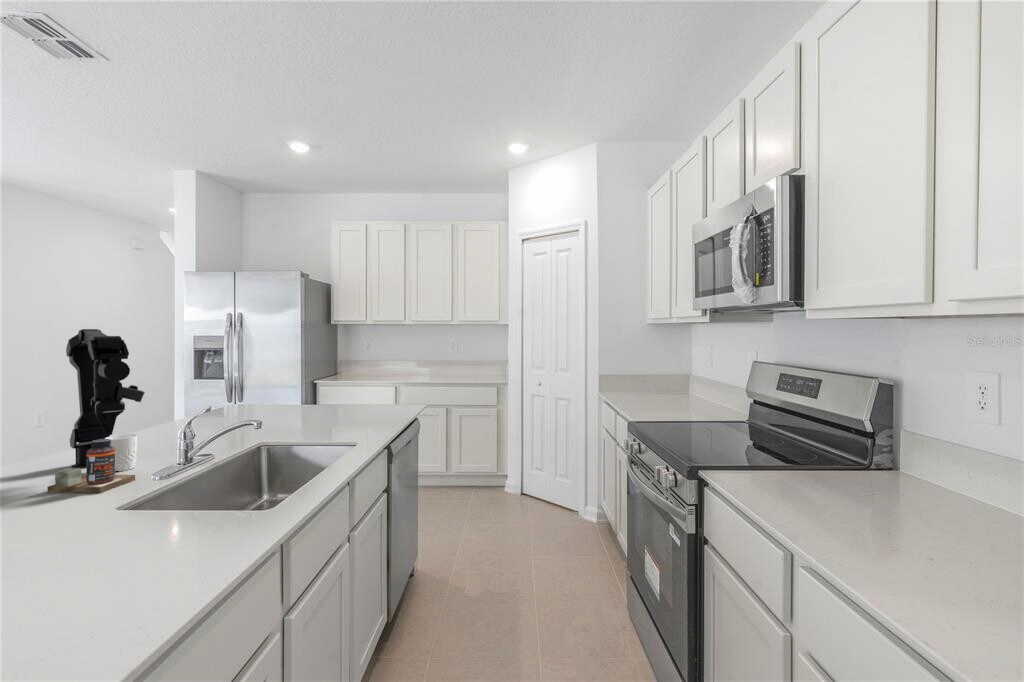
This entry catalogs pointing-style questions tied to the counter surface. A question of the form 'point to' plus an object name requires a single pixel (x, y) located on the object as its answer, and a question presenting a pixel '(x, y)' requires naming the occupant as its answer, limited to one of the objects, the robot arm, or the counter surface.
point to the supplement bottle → (100, 462)
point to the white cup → (124, 451)
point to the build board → (84, 482)
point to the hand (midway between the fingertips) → (107, 432)
